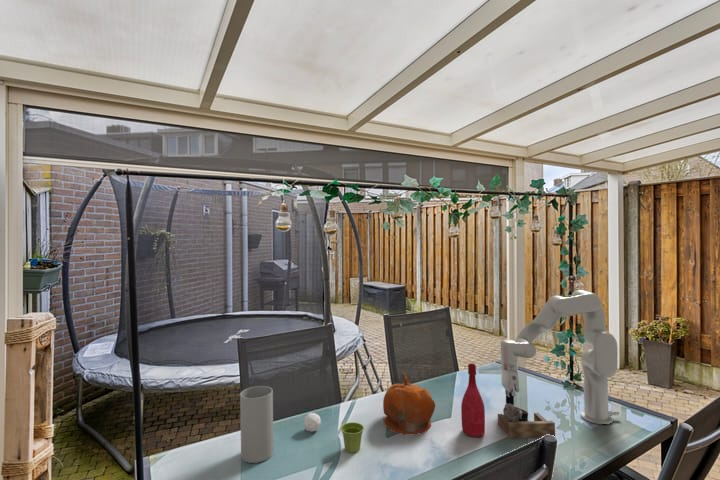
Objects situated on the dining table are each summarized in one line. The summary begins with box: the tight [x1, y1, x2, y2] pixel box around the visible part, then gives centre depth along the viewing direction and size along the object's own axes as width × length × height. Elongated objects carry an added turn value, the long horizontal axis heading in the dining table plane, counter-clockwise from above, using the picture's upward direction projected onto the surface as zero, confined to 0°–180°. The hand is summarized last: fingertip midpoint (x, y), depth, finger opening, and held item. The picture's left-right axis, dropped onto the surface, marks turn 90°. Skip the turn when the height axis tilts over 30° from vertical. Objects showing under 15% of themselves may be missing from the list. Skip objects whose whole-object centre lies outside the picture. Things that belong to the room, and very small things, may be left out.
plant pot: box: [340, 421, 365, 453], centre depth 150 cm, size 9×9×9 cm
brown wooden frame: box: [497, 412, 556, 440], centre depth 163 cm, size 19×14×6 cm
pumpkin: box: [382, 371, 436, 435], centre depth 172 cm, size 22×25×23 cm
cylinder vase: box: [239, 385, 275, 464], centre depth 147 cm, size 12×12×25 cm
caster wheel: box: [502, 403, 529, 422], centre depth 174 cm, size 7×11×10 cm
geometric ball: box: [303, 412, 322, 433], centre depth 165 cm, size 8×8×8 cm
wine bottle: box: [460, 362, 486, 438], centre depth 161 cm, size 10×10×30 cm
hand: (509, 404), depth 178 cm, fingers closed
